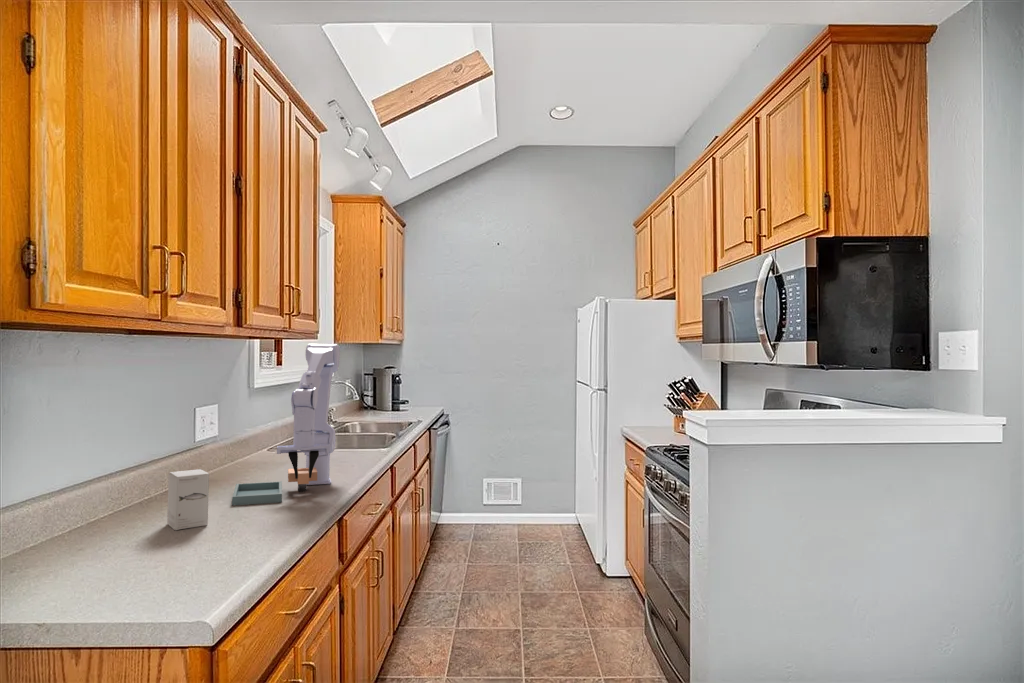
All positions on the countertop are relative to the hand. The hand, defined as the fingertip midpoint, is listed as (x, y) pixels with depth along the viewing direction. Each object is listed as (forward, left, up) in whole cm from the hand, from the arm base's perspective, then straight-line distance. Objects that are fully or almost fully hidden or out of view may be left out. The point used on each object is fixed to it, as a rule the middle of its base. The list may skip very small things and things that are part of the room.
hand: (303, 477), depth 184 cm
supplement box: (+23, -27, -5) cm, 36 cm away
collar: (-4, 0, -2) cm, 4 cm away
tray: (-2, -12, -5) cm, 13 cm away
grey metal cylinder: (-6, 0, -5) cm, 8 cm away
